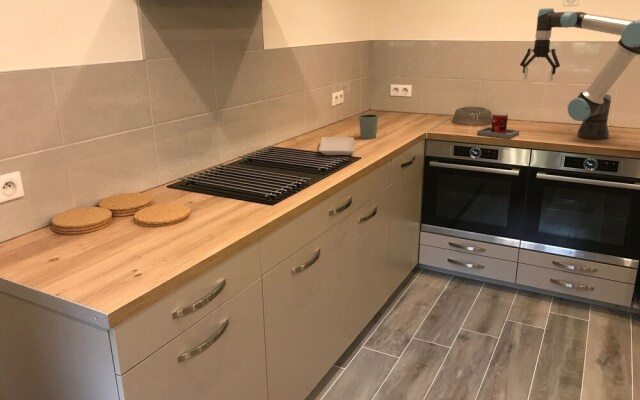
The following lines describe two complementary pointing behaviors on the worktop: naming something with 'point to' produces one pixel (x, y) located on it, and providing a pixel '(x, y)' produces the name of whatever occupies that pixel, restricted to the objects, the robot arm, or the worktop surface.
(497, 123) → the canned food
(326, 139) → the tray
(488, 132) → the tray
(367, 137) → the grey green cup
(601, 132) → the robot arm
